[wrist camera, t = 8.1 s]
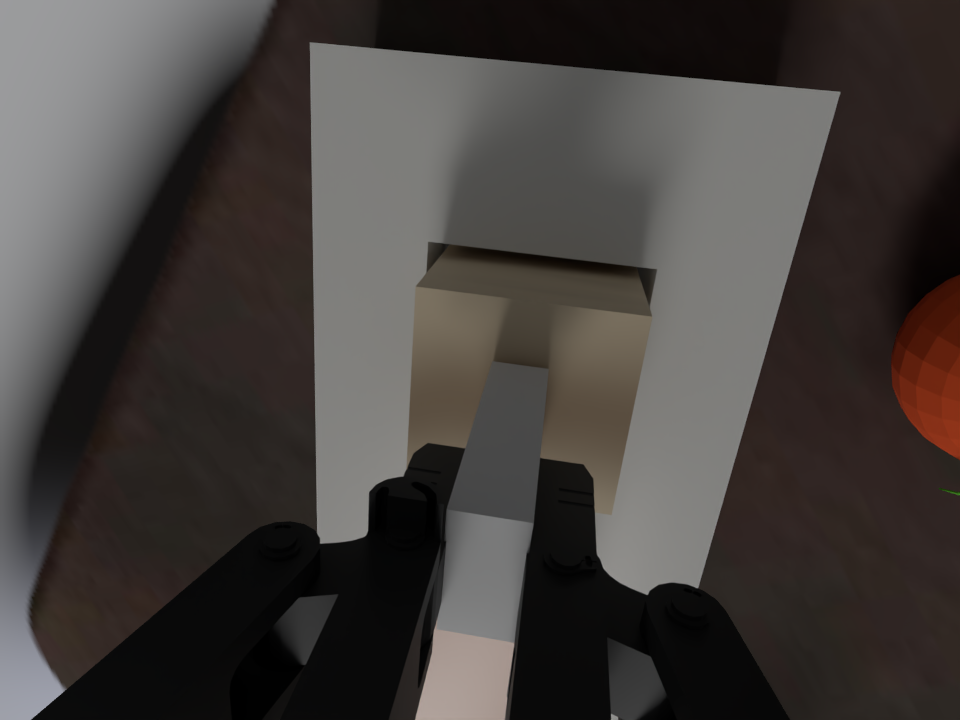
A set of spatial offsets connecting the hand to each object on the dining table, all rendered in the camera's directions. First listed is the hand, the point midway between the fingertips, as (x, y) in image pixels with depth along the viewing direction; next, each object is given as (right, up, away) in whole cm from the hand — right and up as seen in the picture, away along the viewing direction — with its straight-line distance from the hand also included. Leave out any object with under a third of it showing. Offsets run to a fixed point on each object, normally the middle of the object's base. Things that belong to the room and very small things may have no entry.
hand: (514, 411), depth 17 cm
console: (+1, -1, +11) cm, 11 cm away
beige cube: (+1, +2, +6) cm, 6 cm away
